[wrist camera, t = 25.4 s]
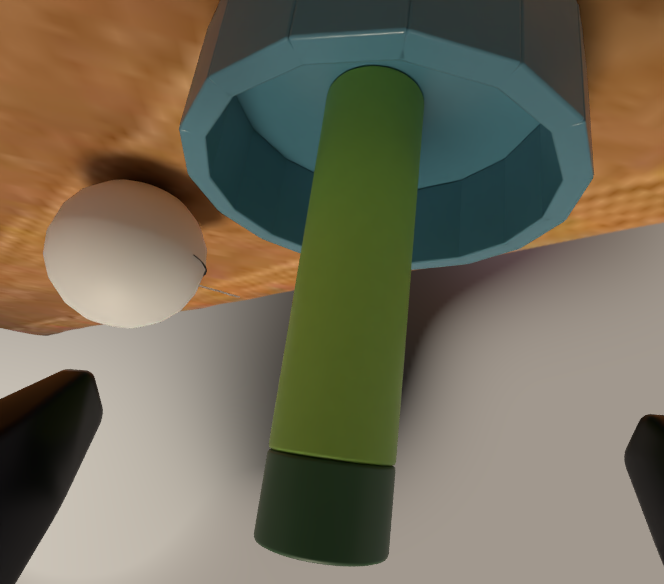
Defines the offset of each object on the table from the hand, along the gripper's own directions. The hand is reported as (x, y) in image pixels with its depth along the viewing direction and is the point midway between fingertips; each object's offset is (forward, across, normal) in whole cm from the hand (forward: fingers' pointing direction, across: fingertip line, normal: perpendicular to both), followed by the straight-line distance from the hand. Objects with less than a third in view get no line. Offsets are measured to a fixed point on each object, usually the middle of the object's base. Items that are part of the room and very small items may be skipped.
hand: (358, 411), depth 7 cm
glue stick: (+10, 0, -4) cm, 11 cm away
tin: (+10, 0, -4) cm, 11 cm away
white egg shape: (+18, +10, +2) cm, 20 cm away
